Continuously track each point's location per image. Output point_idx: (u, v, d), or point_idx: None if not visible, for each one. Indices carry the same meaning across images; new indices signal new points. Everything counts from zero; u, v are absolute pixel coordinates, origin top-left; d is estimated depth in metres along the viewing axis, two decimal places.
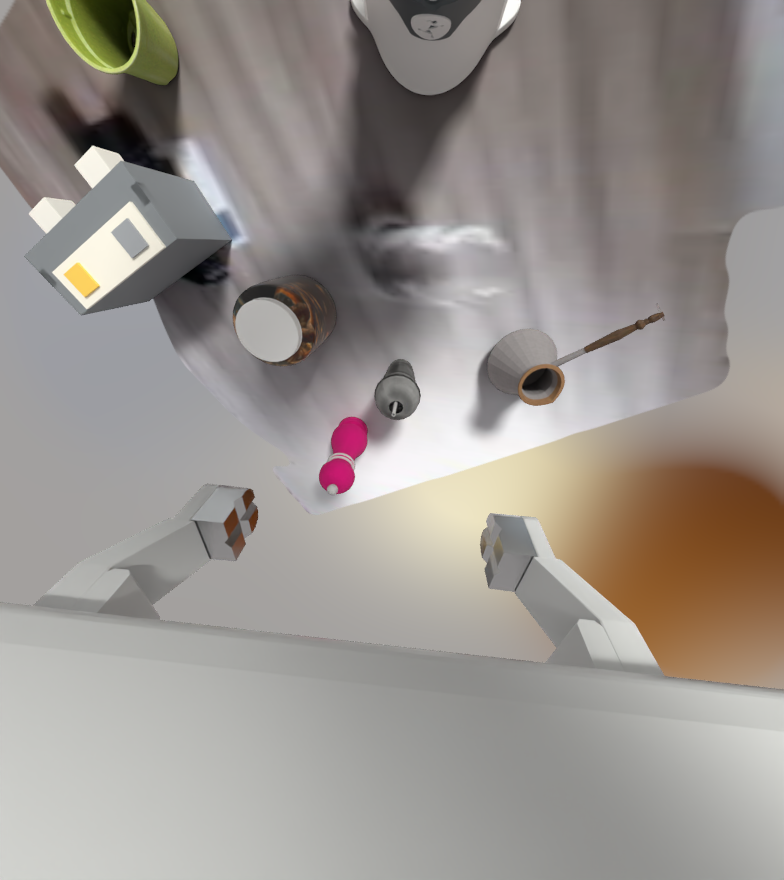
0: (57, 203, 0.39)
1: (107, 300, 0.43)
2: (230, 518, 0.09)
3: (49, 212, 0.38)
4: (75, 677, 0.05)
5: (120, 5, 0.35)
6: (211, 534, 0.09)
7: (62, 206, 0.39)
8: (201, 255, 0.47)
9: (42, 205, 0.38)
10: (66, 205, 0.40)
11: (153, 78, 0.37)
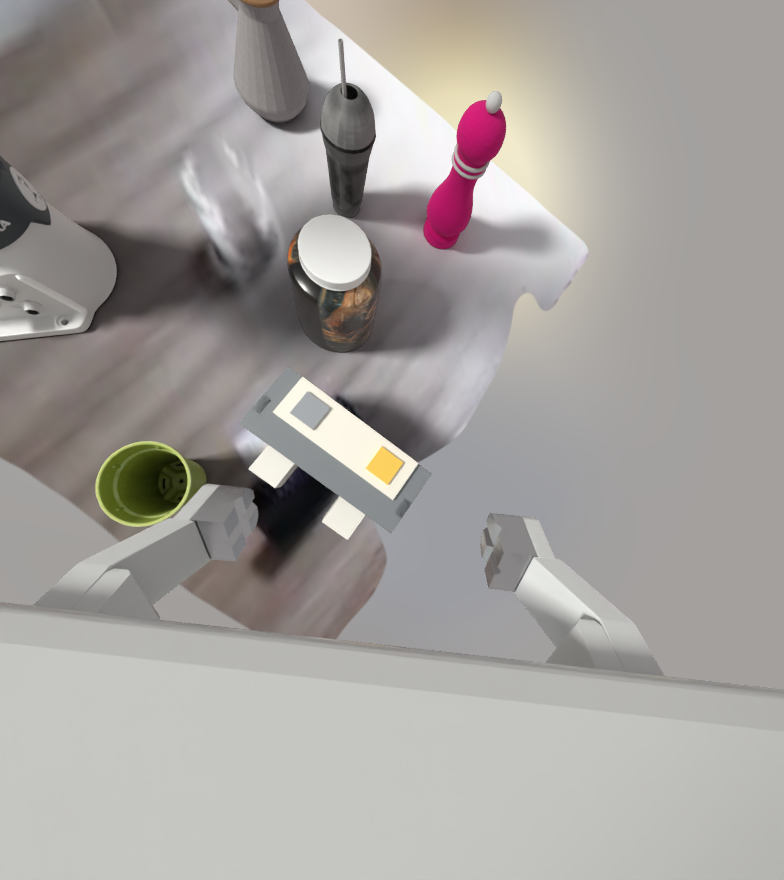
0: (325, 515, 0.35)
1: None
2: (230, 518, 0.09)
3: (334, 517, 0.35)
4: (75, 677, 0.05)
5: (160, 502, 0.40)
6: (211, 534, 0.09)
7: (327, 513, 0.36)
8: None
9: (331, 523, 0.34)
10: (326, 514, 0.36)
11: (195, 465, 0.40)
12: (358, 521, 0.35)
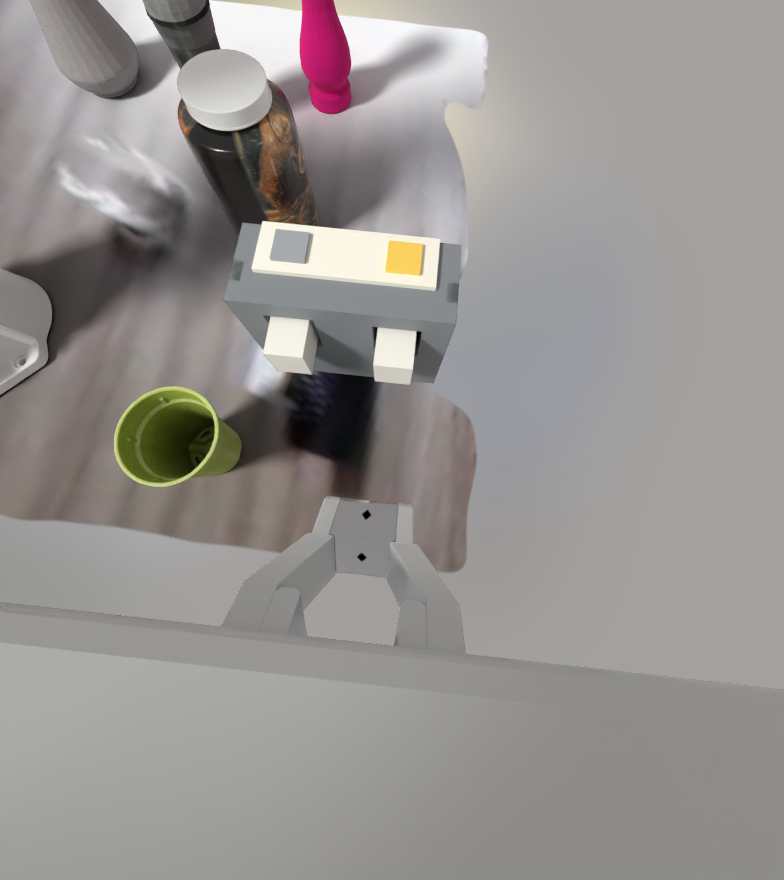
0: None
1: None
2: (363, 532, 0.09)
3: (384, 353, 0.28)
4: (75, 677, 0.05)
5: None
6: (345, 548, 0.09)
7: None
8: None
9: (384, 362, 0.27)
10: None
11: None
12: (412, 345, 0.28)
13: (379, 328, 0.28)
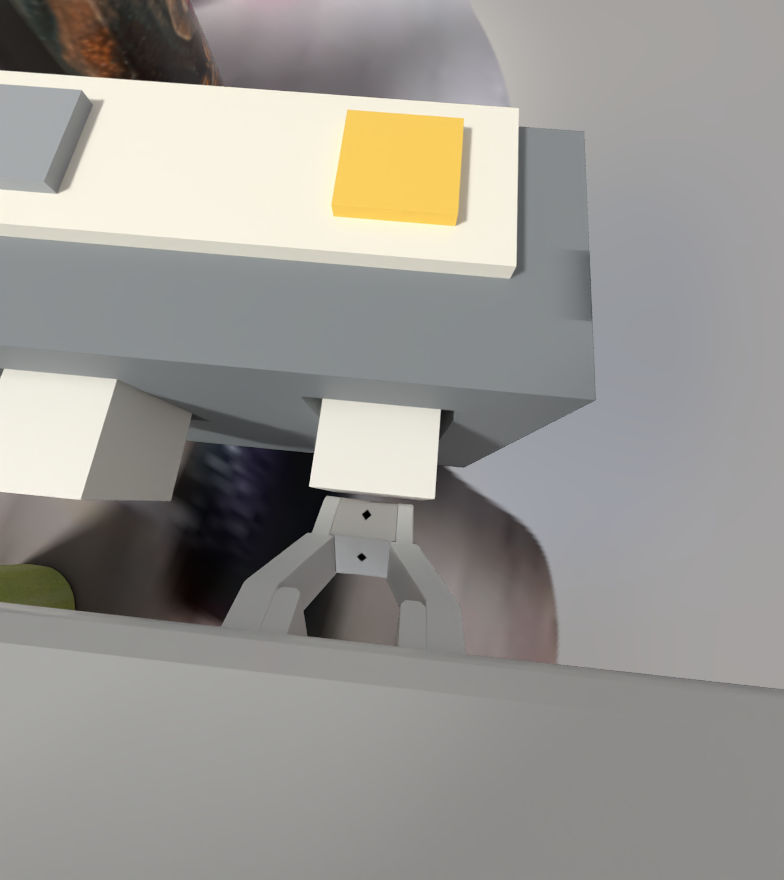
0: None
1: None
2: (364, 532, 0.09)
3: (345, 448, 0.09)
4: (75, 677, 0.05)
5: None
6: (345, 548, 0.09)
7: None
8: None
9: (344, 475, 0.09)
10: None
11: None
12: (433, 419, 0.09)
13: None
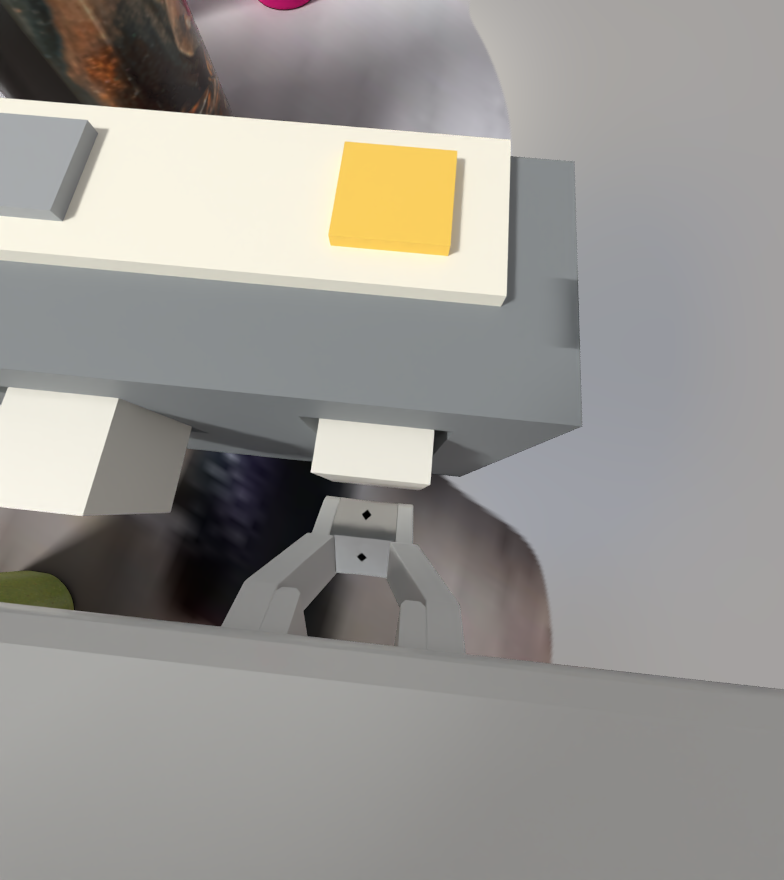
0: None
1: None
2: (363, 532, 0.09)
3: (345, 436, 0.09)
4: (75, 677, 0.05)
5: None
6: (345, 548, 0.09)
7: None
8: None
9: (344, 462, 0.09)
10: None
11: None
12: None
13: None
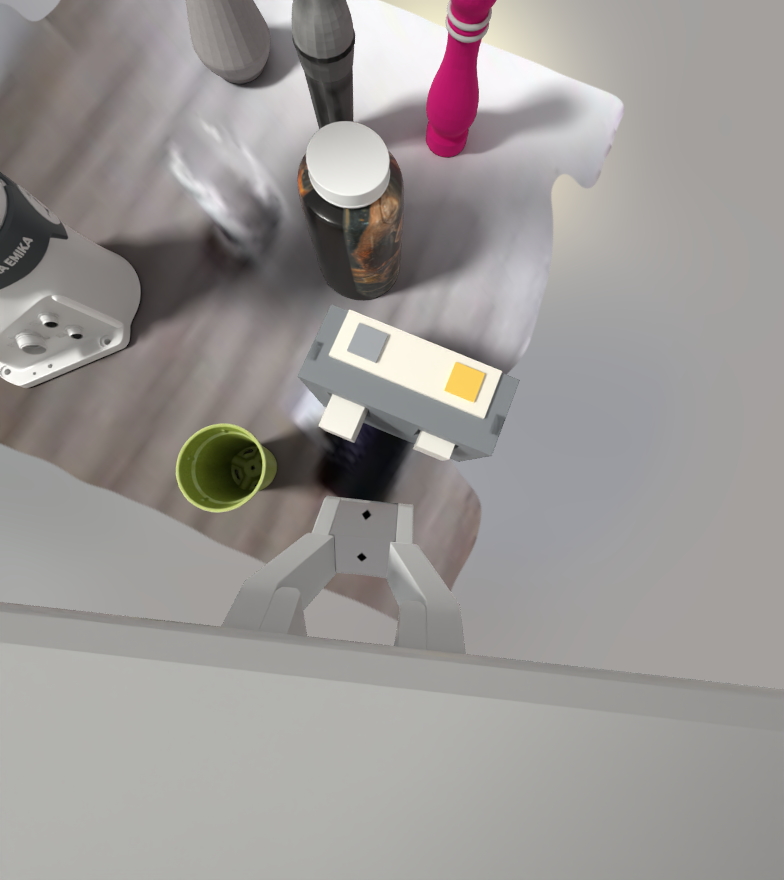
0: (417, 441, 0.32)
1: None
2: (363, 532, 0.09)
3: (428, 438, 0.31)
4: (75, 677, 0.05)
5: (239, 491, 0.39)
6: (345, 548, 0.09)
7: (418, 439, 0.32)
8: None
9: (426, 445, 0.31)
10: (416, 441, 0.33)
11: (262, 446, 0.38)
12: None
13: None
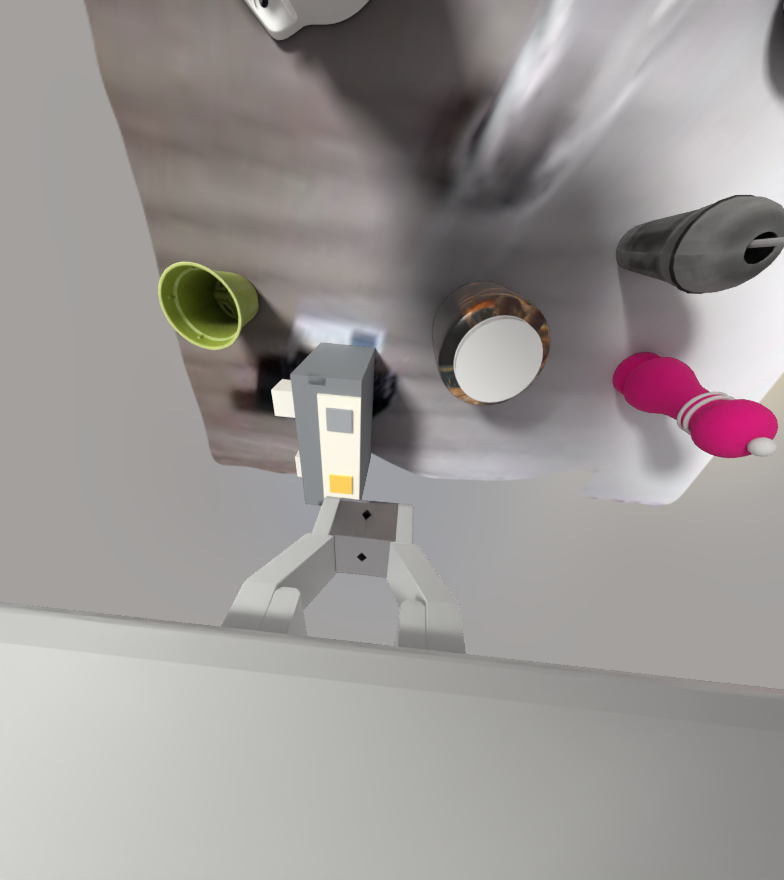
0: None
1: (361, 482, 0.44)
2: (364, 532, 0.09)
3: None
4: (75, 677, 0.05)
5: (208, 298, 0.41)
6: (345, 548, 0.09)
7: None
8: (371, 383, 0.45)
9: (298, 462, 0.43)
10: None
11: (252, 310, 0.40)
12: None
13: None
